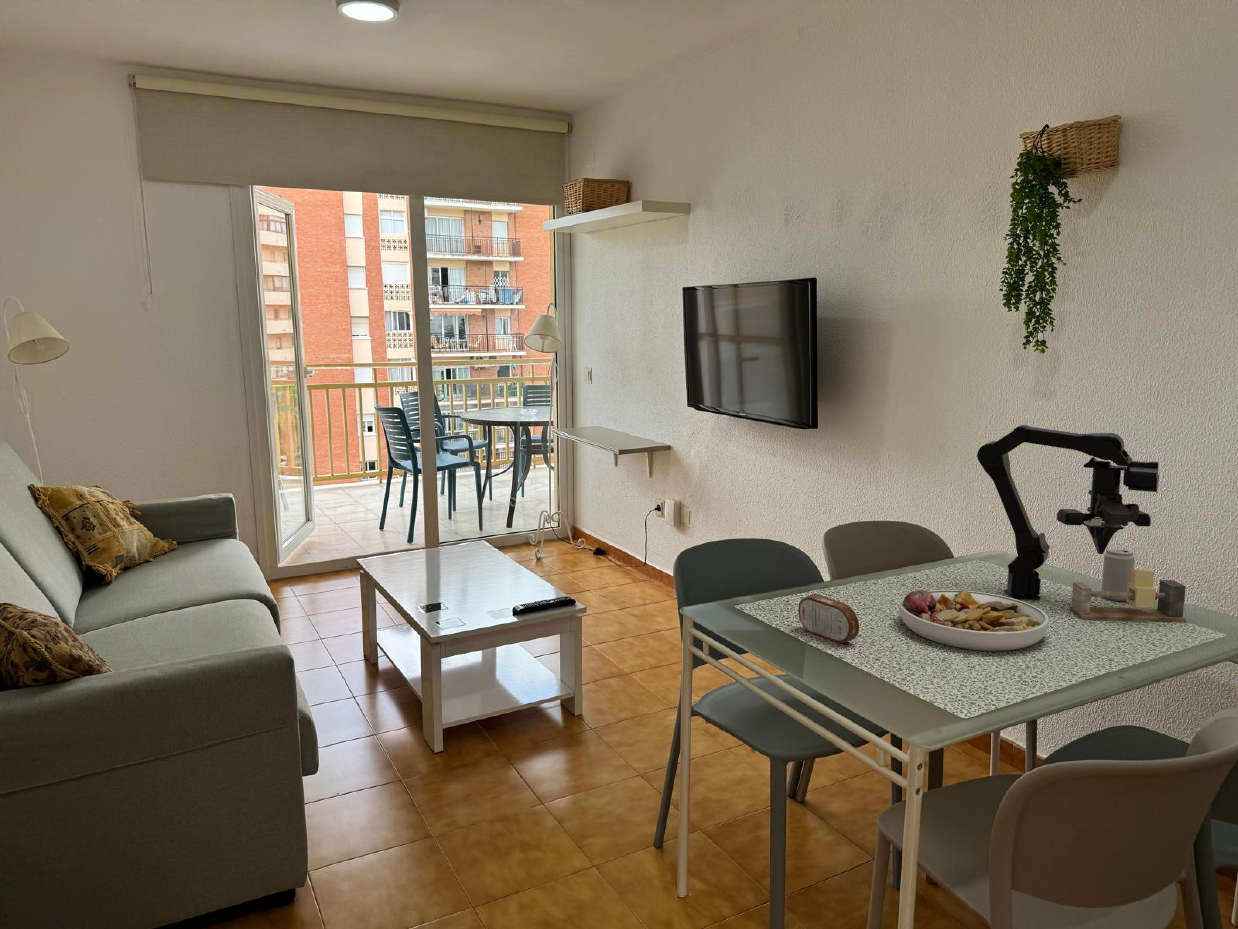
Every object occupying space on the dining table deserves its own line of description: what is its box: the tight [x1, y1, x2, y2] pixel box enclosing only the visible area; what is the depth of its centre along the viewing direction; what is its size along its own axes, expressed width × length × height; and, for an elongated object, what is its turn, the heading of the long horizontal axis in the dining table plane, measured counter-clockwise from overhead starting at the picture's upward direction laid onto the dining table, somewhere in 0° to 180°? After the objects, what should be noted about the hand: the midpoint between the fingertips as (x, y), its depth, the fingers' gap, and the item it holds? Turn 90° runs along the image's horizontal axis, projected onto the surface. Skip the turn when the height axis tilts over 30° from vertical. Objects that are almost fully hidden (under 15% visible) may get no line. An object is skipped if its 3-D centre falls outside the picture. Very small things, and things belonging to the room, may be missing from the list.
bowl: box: [898, 589, 1050, 652], centre depth 189 cm, size 30×30×8 cm
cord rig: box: [1068, 579, 1187, 623], centre depth 199 cm, size 22×7×8 cm, turn 85°
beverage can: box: [1101, 547, 1135, 602], centre depth 212 cm, size 6×6×12 cm
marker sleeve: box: [1125, 568, 1157, 609], centre depth 198 cm, size 4×4×8 cm
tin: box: [798, 593, 860, 644], centre depth 185 cm, size 15×3×8 cm, turn 35°
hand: (1100, 553), depth 204 cm, fingers closed
